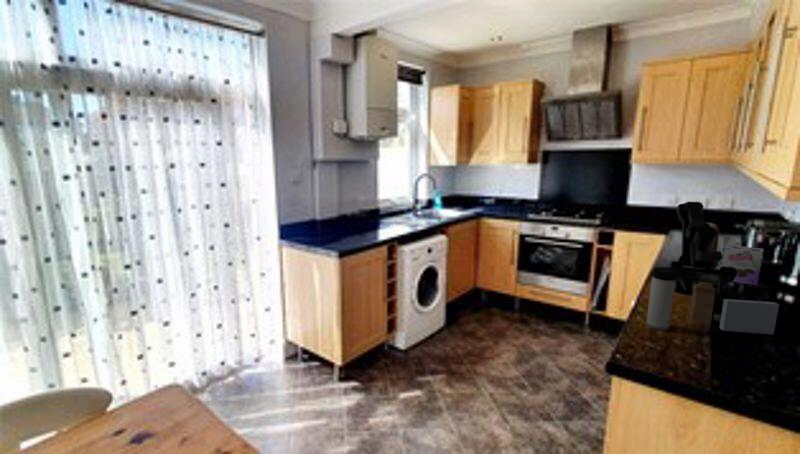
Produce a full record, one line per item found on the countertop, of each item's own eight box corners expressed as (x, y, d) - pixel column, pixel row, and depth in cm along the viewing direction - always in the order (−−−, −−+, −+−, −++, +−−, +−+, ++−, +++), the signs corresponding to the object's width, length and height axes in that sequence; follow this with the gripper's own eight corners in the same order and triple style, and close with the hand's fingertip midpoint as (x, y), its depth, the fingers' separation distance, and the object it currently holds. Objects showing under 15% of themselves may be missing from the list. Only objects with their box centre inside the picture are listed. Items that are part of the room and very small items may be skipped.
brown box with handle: (689, 316, 136) (694, 280, 134) (707, 318, 134) (712, 282, 132) (692, 321, 132) (697, 284, 129) (710, 324, 129) (716, 286, 127)
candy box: (717, 280, 178) (722, 245, 175) (718, 277, 183) (723, 243, 180) (757, 287, 169) (764, 250, 166) (758, 284, 173) (764, 248, 171)
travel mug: (673, 331, 123) (682, 271, 120) (651, 329, 125) (658, 270, 121) (664, 323, 129) (672, 266, 126) (643, 321, 131) (650, 264, 127)
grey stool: (705, 318, 134) (709, 290, 132) (751, 321, 131) (756, 293, 130) (723, 330, 124) (727, 301, 123) (773, 334, 122) (779, 304, 120)
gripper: (673, 239, 139) (674, 276, 131) (740, 244, 131) (745, 284, 123) (667, 256, 147) (668, 291, 139) (730, 262, 139) (734, 300, 131)
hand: (702, 292), depth 133 cm, fingers open, 9 cm apart
